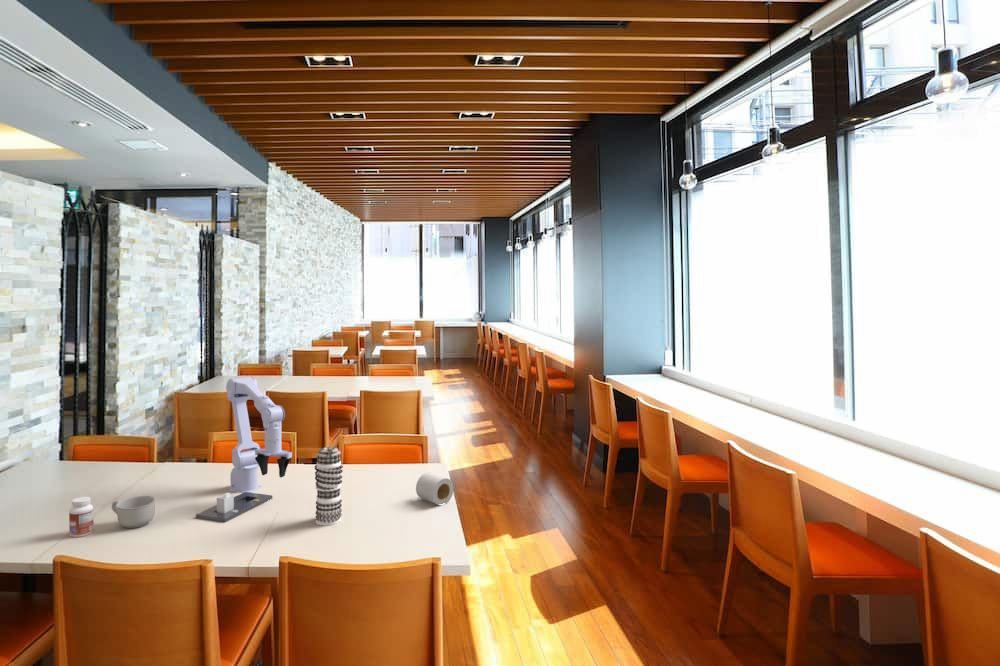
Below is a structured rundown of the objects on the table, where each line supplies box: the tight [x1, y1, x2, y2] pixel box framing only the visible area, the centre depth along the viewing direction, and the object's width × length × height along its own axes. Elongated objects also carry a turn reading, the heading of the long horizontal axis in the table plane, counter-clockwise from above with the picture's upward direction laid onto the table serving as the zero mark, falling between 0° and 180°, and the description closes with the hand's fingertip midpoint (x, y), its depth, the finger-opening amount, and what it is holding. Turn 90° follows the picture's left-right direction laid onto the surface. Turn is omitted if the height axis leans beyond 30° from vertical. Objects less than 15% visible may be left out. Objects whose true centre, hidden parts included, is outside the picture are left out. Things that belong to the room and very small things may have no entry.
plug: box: [216, 492, 235, 514], centre depth 199 cm, size 3×4×7 cm
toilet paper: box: [415, 472, 454, 506], centre depth 215 cm, size 10×10×10 cm
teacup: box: [111, 494, 156, 529], centre depth 188 cm, size 14×11×8 cm
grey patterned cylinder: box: [314, 446, 344, 526], centre depth 194 cm, size 9×9×25 cm
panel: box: [195, 492, 273, 523], centre depth 204 cm, size 12×24×2 cm, turn 164°
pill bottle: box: [68, 496, 95, 538], centre depth 180 cm, size 6×6×11 cm
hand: (273, 475), depth 211 cm, fingers open, 7 cm apart
